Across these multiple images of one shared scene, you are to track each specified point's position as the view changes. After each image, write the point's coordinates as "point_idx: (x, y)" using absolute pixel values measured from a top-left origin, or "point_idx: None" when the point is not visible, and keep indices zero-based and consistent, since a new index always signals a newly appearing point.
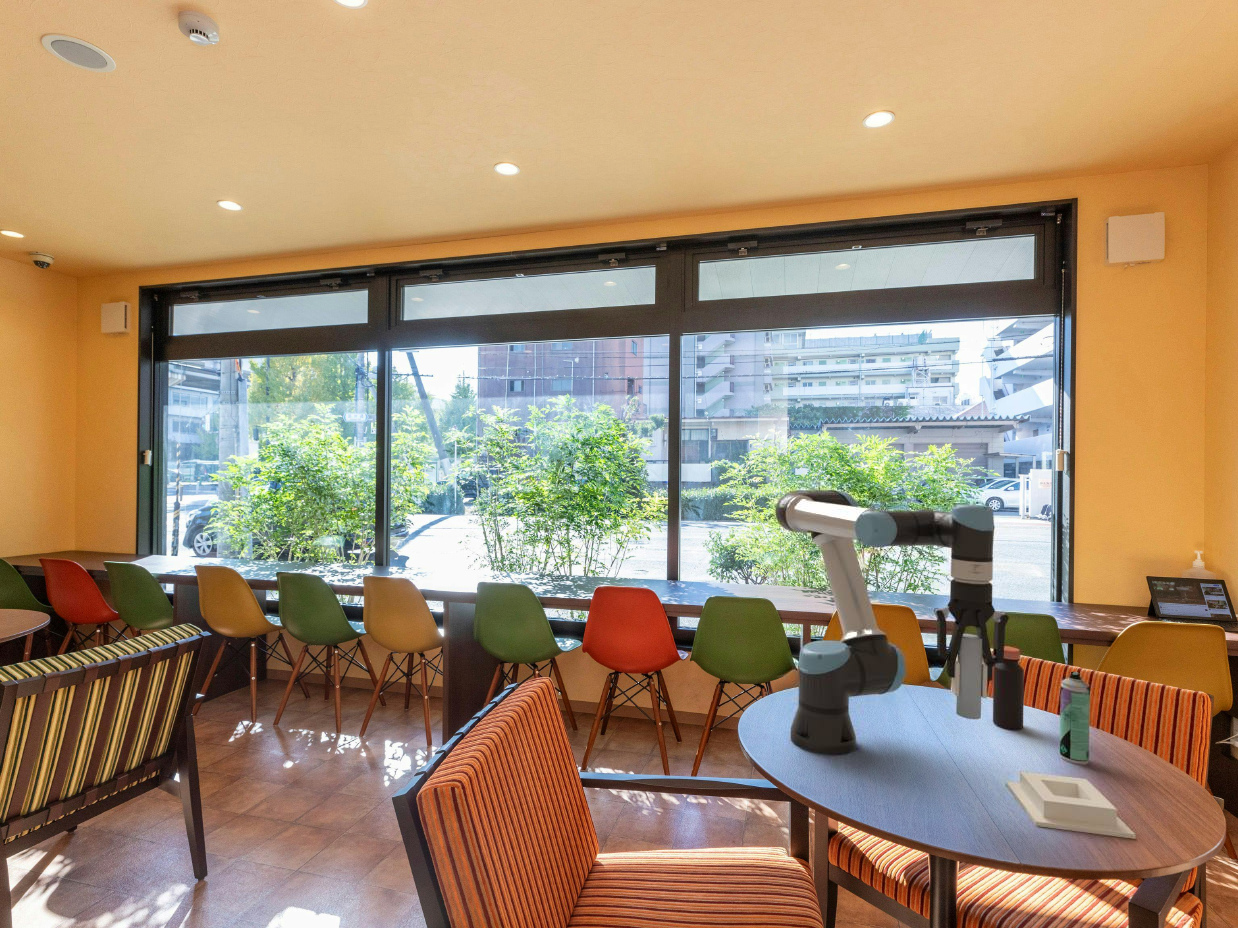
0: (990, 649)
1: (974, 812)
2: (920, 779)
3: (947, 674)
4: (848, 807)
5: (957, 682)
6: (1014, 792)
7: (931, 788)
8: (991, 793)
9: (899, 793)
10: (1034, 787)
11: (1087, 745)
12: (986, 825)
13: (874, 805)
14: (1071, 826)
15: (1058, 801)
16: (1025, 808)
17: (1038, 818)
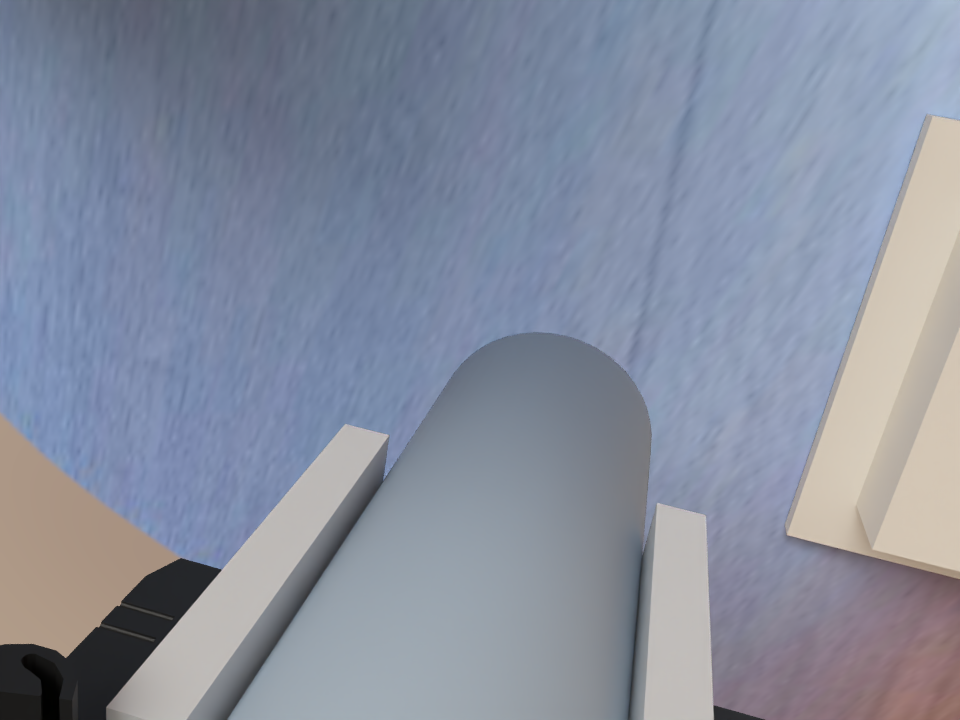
0: None
1: None
2: (422, 88)
3: (169, 571)
4: (32, 383)
5: None
6: (883, 262)
7: (443, 192)
8: (759, 229)
9: (265, 255)
10: (933, 417)
11: None
12: None
13: (134, 365)
14: (942, 572)
15: (954, 559)
16: (825, 418)
17: (820, 511)
